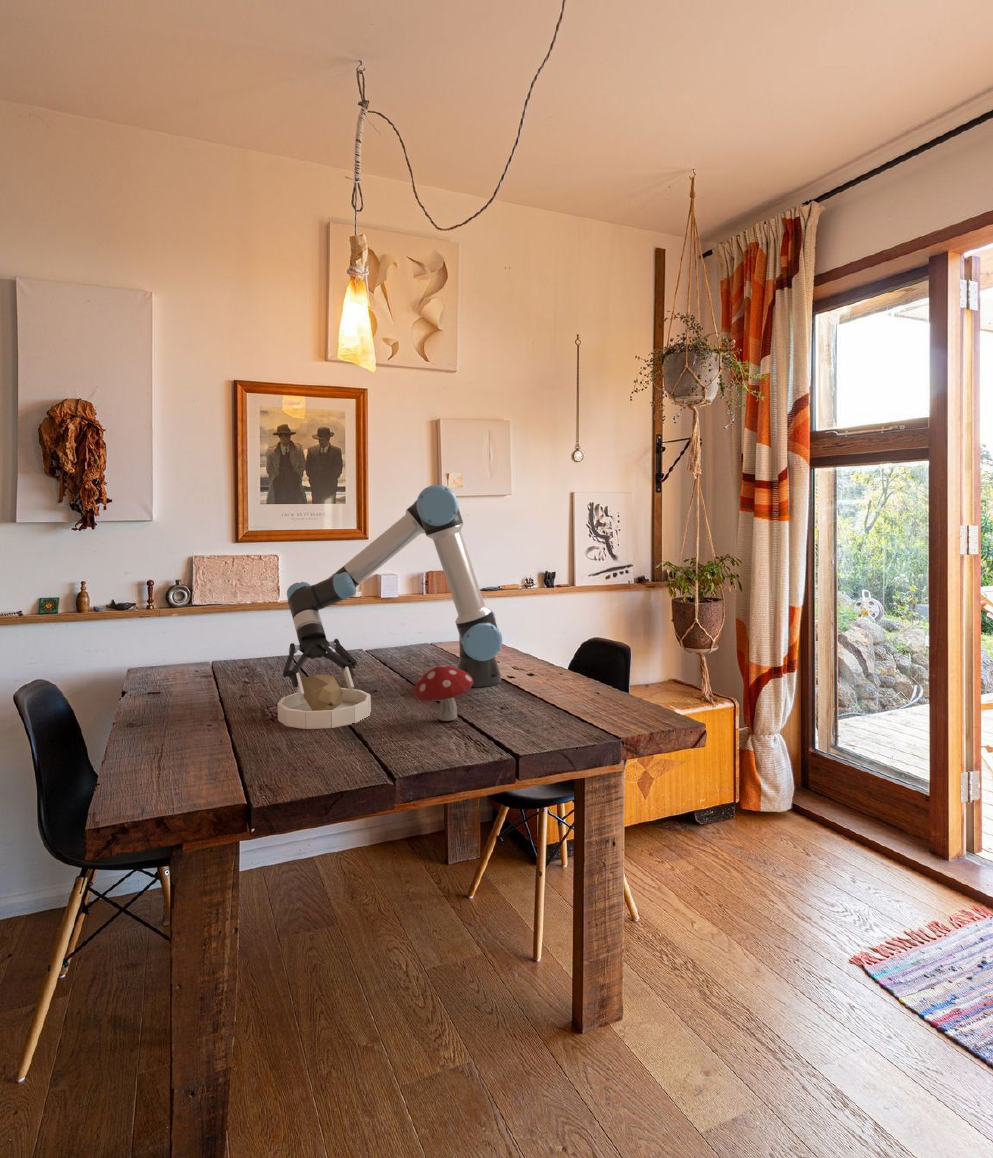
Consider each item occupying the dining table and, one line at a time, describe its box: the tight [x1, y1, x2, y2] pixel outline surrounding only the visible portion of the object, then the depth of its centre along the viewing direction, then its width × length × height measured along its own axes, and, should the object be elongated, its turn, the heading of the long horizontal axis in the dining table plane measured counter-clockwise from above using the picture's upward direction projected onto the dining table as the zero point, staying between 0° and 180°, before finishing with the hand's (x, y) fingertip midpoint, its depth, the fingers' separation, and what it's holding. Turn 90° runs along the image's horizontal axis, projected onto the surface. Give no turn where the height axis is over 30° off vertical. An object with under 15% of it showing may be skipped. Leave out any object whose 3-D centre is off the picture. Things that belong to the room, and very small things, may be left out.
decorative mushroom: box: [413, 665, 474, 722], centre depth 181 cm, size 16×16×15 cm
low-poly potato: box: [300, 673, 342, 711], centre depth 188 cm, size 15×11×12 cm
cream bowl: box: [276, 687, 372, 730], centre depth 188 cm, size 24×24×4 cm
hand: (327, 692), depth 186 cm, fingers open, 13 cm apart
